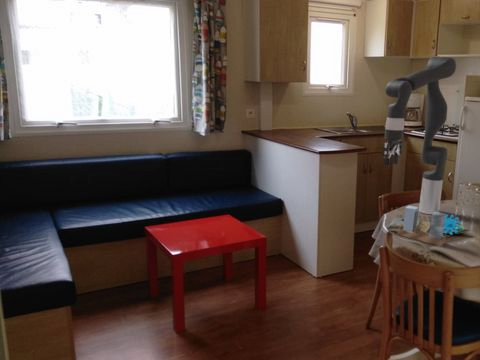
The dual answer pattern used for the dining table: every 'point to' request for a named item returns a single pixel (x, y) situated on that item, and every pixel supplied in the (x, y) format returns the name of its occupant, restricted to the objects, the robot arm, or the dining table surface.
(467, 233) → the dining table surface
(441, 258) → the dining table surface
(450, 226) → the gear
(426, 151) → the robot arm
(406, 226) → the light grey block
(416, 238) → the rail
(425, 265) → the dining table surface
